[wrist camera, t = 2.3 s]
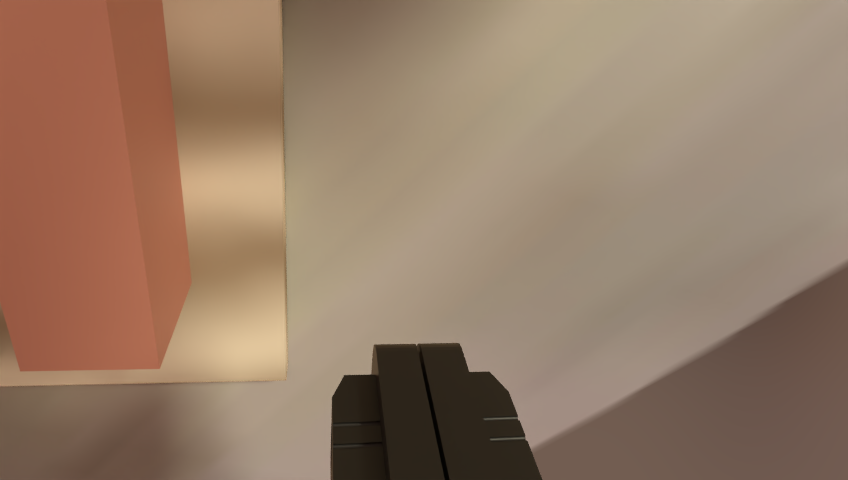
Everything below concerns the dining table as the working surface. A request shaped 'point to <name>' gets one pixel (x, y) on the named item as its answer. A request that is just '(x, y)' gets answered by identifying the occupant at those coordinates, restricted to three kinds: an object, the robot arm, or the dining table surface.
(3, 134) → the t block
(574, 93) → the dining table surface
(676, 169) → the dining table surface
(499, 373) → the dining table surface
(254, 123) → the board
